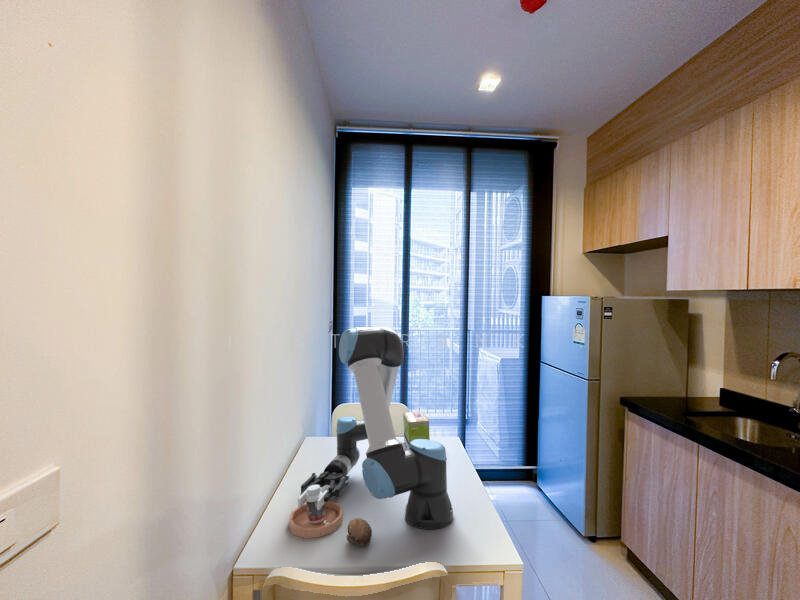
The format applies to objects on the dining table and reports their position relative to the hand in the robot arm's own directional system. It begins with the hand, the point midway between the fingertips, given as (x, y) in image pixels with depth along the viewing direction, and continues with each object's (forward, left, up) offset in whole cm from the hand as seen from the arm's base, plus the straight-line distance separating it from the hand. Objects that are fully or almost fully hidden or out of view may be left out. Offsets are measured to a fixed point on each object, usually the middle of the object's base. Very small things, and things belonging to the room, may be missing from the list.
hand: (308, 504), depth 110 cm
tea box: (+32, -66, -8) cm, 74 cm away
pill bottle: (+2, -4, -7) cm, 8 cm away
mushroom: (-14, -10, -8) cm, 19 cm away
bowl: (+3, -4, -8) cm, 10 cm away
